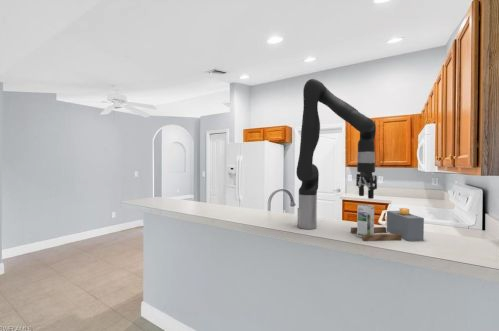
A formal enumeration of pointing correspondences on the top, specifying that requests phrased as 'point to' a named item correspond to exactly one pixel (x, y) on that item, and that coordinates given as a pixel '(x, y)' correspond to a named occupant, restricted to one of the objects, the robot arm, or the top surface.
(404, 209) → the gauge button
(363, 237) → the guide rails
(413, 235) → the end cabinet
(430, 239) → the top surface
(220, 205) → the top surface
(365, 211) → the syrup box
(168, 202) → the top surface
